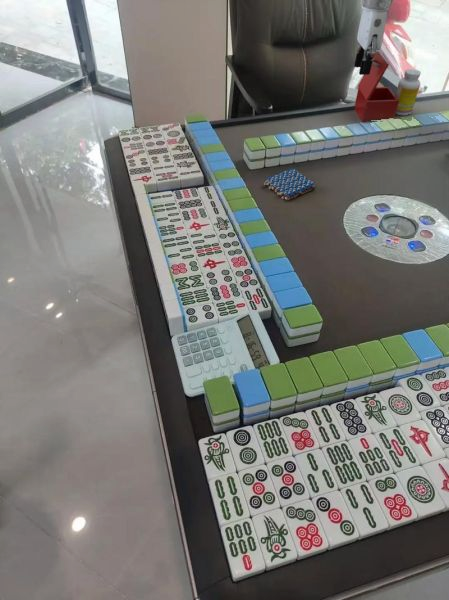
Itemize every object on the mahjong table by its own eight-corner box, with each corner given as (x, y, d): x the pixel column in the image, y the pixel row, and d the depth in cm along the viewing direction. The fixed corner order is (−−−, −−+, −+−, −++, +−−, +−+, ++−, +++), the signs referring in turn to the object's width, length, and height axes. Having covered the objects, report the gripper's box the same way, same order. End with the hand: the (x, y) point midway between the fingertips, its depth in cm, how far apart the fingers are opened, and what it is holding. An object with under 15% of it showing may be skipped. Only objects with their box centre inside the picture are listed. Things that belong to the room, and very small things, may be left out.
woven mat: (291, 172, 122) (292, 165, 121) (316, 189, 116) (317, 183, 115) (262, 184, 118) (262, 177, 117) (286, 203, 112) (287, 196, 111)
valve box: (383, 106, 149) (389, 86, 144) (393, 121, 142) (399, 100, 137) (354, 107, 148) (358, 87, 143) (362, 122, 142) (366, 101, 137)
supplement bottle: (415, 114, 145) (428, 74, 135) (397, 117, 144) (409, 76, 134) (404, 106, 149) (416, 66, 139) (387, 108, 148) (398, 68, 138)
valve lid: (379, 51, 135) (364, 46, 134) (389, 64, 129) (374, 58, 127) (359, 86, 143) (345, 81, 142) (368, 100, 136) (353, 95, 135)
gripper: (399, 10, 115) (381, 81, 129) (380, -7, 127) (366, 60, 140) (371, 11, 115) (356, 82, 129) (355, -7, 126) (343, 60, 140)
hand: (361, 69), depth 134 cm, fingers closed on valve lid, 5 cm apart
